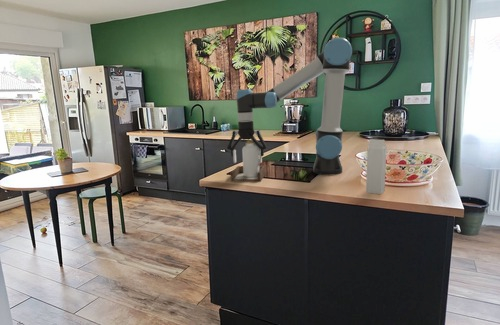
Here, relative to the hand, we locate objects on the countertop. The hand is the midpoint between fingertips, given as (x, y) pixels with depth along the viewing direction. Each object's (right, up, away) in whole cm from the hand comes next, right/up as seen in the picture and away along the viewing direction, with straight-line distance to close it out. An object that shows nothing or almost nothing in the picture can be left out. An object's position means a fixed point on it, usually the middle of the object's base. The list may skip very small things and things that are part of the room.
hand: (247, 162), depth 162 cm
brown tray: (+1, -8, +2) cm, 8 cm away
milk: (+54, -12, -29) cm, 63 cm away
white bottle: (+2, -7, +1) cm, 7 cm away
